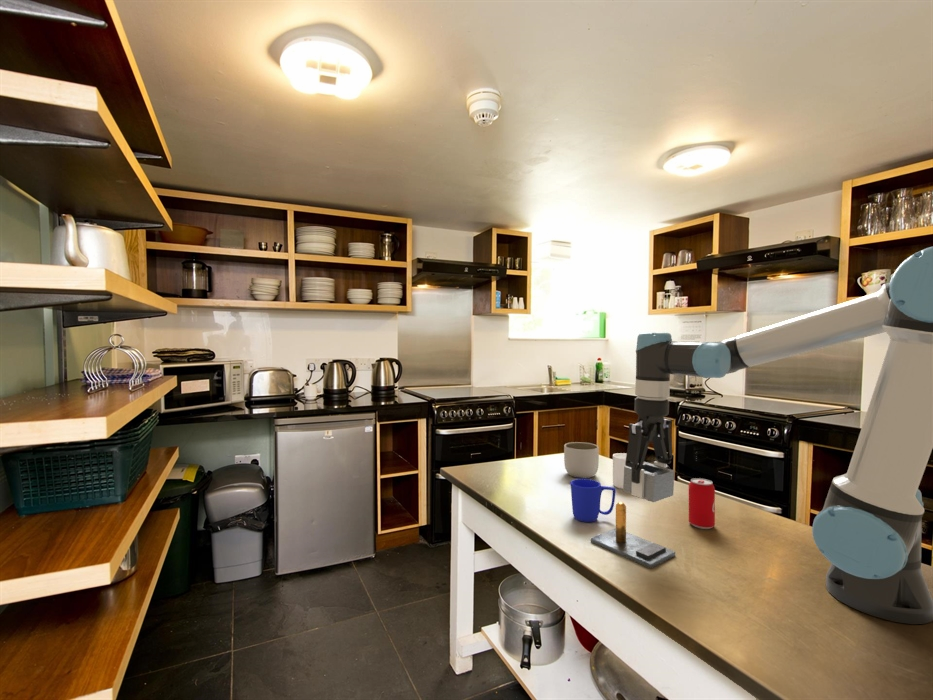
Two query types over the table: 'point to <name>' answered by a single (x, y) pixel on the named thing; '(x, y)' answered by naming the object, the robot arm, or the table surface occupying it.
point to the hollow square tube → (652, 482)
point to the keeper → (632, 543)
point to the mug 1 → (588, 499)
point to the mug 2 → (618, 469)
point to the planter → (581, 459)
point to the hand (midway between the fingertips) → (648, 492)
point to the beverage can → (701, 503)
